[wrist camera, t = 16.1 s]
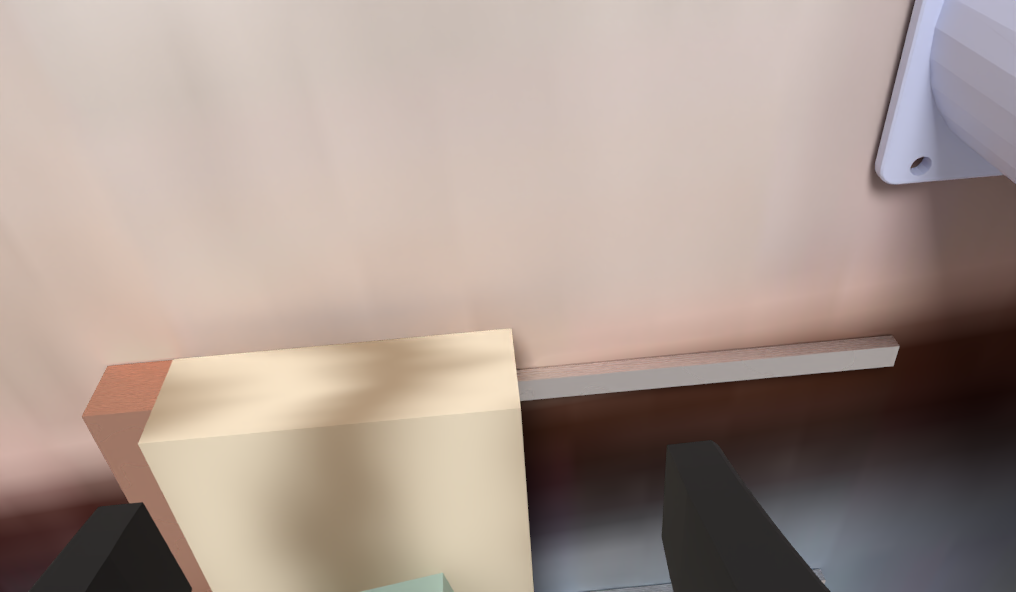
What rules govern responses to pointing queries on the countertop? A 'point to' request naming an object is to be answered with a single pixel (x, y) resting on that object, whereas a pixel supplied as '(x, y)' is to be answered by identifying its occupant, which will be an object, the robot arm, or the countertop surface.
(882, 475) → the countertop surface
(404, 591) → the block
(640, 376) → the track
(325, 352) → the cream rectangular box
